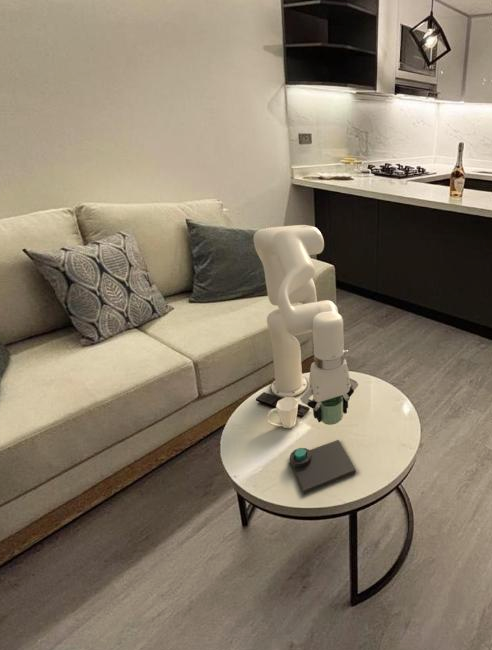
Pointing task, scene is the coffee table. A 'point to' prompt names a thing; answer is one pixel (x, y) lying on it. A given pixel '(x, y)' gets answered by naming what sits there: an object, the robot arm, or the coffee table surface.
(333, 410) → the green handleless cup
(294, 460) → the scale
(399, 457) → the coffee table surface
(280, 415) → the cup
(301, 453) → the tare button
